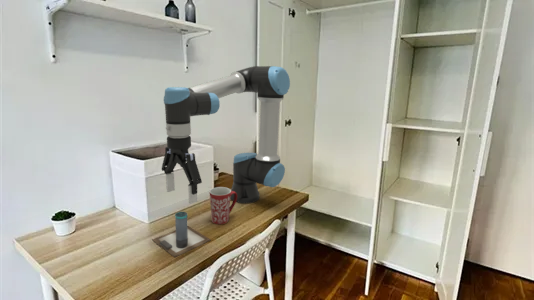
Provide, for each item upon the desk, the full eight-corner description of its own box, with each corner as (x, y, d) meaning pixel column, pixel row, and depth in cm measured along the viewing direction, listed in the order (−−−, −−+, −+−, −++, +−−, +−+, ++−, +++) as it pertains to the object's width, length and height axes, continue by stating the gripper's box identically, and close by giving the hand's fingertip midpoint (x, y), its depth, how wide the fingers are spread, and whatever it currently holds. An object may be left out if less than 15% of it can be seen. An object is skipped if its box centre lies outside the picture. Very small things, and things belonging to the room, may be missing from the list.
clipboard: (187, 226, 118) (187, 223, 118) (210, 240, 109) (210, 237, 109) (152, 240, 107) (152, 236, 107) (174, 257, 98) (174, 253, 98)
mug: (215, 227, 118) (215, 196, 115) (205, 218, 125) (205, 189, 122) (242, 219, 126) (242, 190, 123) (231, 212, 133) (231, 184, 130)
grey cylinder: (183, 240, 107) (183, 210, 104) (190, 245, 105) (189, 214, 102) (173, 245, 104) (172, 214, 101) (180, 249, 101) (179, 218, 99)
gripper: (148, 131, 100) (152, 189, 105) (191, 144, 84) (193, 211, 90) (168, 129, 106) (171, 184, 111) (212, 140, 90) (213, 204, 95)
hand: (181, 196), depth 100 cm, fingers open, 13 cm apart
